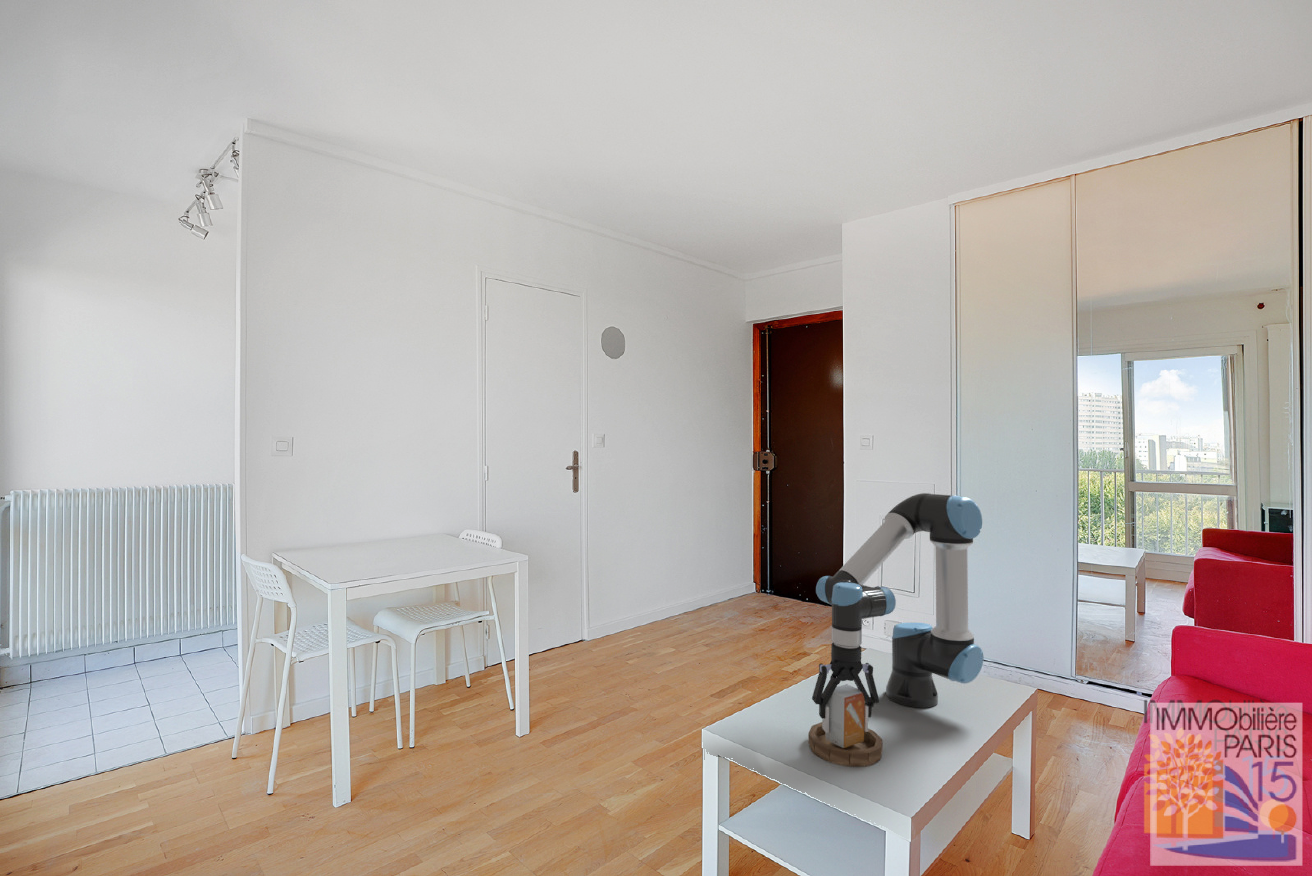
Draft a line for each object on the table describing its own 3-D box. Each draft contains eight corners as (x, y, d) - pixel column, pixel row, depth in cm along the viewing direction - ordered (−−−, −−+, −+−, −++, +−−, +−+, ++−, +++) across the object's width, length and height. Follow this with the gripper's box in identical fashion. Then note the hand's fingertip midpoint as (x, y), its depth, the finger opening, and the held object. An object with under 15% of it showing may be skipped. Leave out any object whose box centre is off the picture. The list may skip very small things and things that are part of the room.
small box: (843, 749, 159) (844, 697, 160) (824, 739, 165) (825, 689, 165) (865, 741, 164) (865, 691, 164) (845, 732, 169) (846, 683, 169)
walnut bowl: (863, 732, 174) (864, 720, 174) (894, 765, 156) (894, 752, 156) (800, 734, 172) (800, 722, 172) (823, 768, 154) (823, 754, 154)
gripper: (881, 638, 169) (880, 722, 169) (799, 639, 167) (798, 724, 167) (894, 648, 162) (893, 735, 161) (809, 649, 160) (807, 737, 159)
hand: (845, 729), depth 164 cm, fingers closed on small box, 10 cm apart
